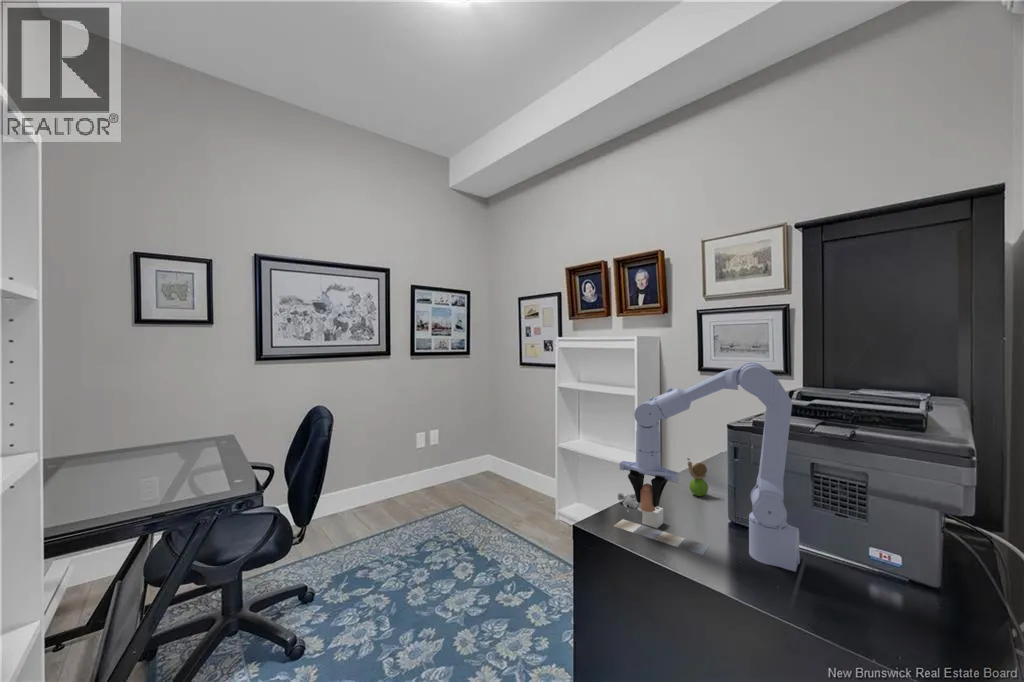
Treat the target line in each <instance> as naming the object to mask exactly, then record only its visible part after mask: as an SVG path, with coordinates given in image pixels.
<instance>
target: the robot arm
mask: <svg viewBox="0 0 1024 682" xmlns="http://www.w3.org/2000/svg"><path fill="white" fill-rule="evenodd" d="M739 386H740V387H741V388H742V389H743V390H744V391H746V392H747V393H749V394H751V395H753V396H754V397H756V398H757V399H758V400H759V401H760V402H761V403H762V404H763V405H764V406H765V416H764V423H763V431H762V433H763V434H762V441H761V450H760V460H759V468H758V474H757V478H756V484H755V486H754V487H753V488H752V490H751V492H750V495H749V496H750V501H751V504H752V511H751V512H750V513H748V514H749V515H748V553H749V556H750V557H751V558H752V559H754V560H755V561H757V562H760V563H761V564H764V565H769V566H773V567H779V568H782V569H784V570H788V571H791V572H797V569H798V565H799V564H800V563H801V554H800V531H799V530H800V529H799V528H798V527H795V526H793V525H790V524H788V522H787V518H788V517H787V516H788V512H787V509H786V506H785V504H784V496H785V495H784V477H785V469H786V460H787V452H788V443H789V433H790V425H791V417H792V409H793V401H792V399H791V398H790V395H788V393H787V391H786V390H785V388H784V387H783V385H782V383H781V382H780V380H779V378H778V376H776V375H775V374H774V373H773V372H772V371H770V370H769V369H768V368H767V367H765V366H764V365H762V364H761V363H758V362H747V363H744V364H743V365H741V367H740V366H736V367H731V368H729V369H725V370H724V371H723V370H722V371H721V372H718V373H717V374H714V375H712V376H711V377H709V378H706V379H704V380H702V381H700V382H698V383H696V384H694V385H692V386H690V387H688V388H686V389H683V388H681V387H675V388H673V387H671V386H670V387H669V388H667V389H666V392H664V393H662V394H660V395H658V396H656V397H654V396H651V397H650V398H648V400H649V401H648V400H647V401H644V402H642V403H640V404H639V405H638V406H637V407H636V408H635V410H634V414H633V415H634V419H635V421H636V430H635V431H636V432H635V434H636V435H635V453H636V454H635V462H634V461H625V460H622V461H620V462H619V471H620V470H621V471H629V473H628V474H627V478H628V480H629V481H630V484H631V486H632V488H633V490H634V493H635V495H636V497H635V499H636V500H637V502H638V503H640V489H641V488H642V486H643V485H644V482H645V481H644V480H645V475H646V476H650V477H654V478H652V479H651V480H650V482H651V483H650V484H651V485H652V489H653V507H659V506H660V501H661V496H662V494H663V491H664V490H665V489H664V488H665V486H666V484H667V483H668V481H671V482H673V483H677V482H678V481H679V477H680V475H679V472H678V471H676V470H671V469H668V468H665V467H663V466H661V431H660V422H659V421H660V420H667V419H669V418H671V417H673V416H677V415H678V414H680V413H682V412H683V413H684V412H685V411H688V410H689V409H690V408H691V404H692V402H694V401H696V400H699V399H701V398H703V397H704V398H705V397H706V396H709V395H711V394H712V395H713V394H714V393H716V392H719V391H721V390H726V389H727V390H733V391H739Z"/></svg>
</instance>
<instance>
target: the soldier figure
mask: <svg viewBox="0 0 1024 682" xmlns="http://www.w3.org/2000/svg"><path fill="white" fill-rule="evenodd" d="M617 500H618V501H619V502H620V501H622V505H623V507H624V508H628V507H629V508H631V509H635V510H636V509H637V511H638V512H640V513H642V510H641V509H640V503H638V502H637V499H636V495H635V492H634V493H630V494H629V493H628V494H626V495H624V493H621V492H618V494H617ZM623 501H624V502H623ZM626 512H629V510H628V509H627V510H626Z"/></svg>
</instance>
